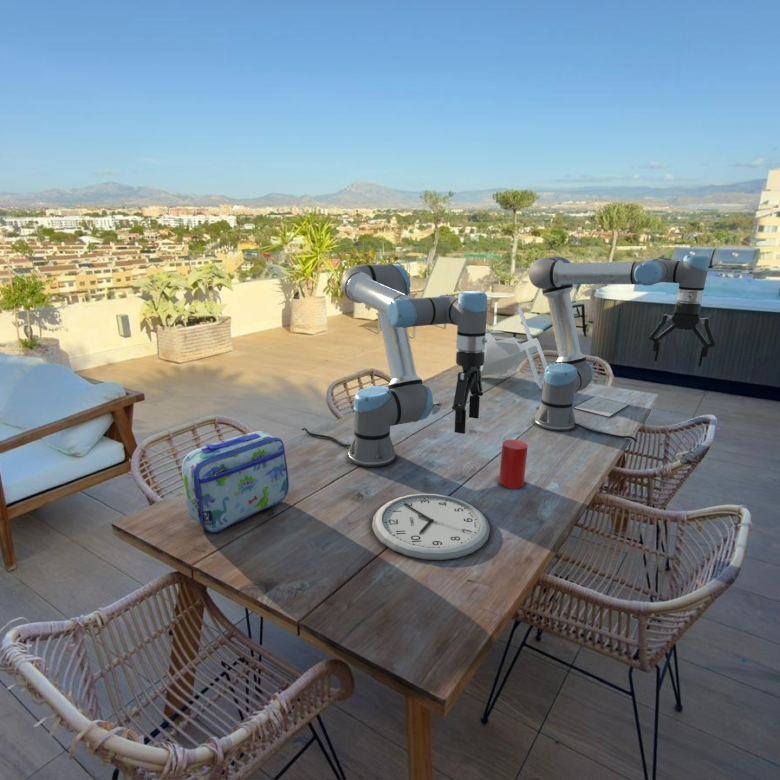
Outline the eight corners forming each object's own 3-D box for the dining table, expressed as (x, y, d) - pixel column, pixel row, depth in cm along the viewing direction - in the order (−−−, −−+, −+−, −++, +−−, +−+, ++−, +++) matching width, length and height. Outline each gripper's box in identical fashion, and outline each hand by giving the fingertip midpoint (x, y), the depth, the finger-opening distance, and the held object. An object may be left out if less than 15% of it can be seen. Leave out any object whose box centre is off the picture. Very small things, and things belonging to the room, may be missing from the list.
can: (522, 490, 153) (526, 450, 149) (497, 485, 155) (500, 446, 152) (525, 479, 159) (529, 441, 156) (501, 475, 162) (504, 438, 158)
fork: (425, 411, 216) (425, 407, 215) (435, 400, 230) (435, 396, 230) (431, 412, 215) (431, 408, 214) (441, 401, 229) (441, 396, 229)
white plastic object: (487, 418, 267) (468, 395, 242) (469, 346, 289) (449, 318, 264) (558, 394, 255) (545, 368, 230) (533, 321, 277) (518, 289, 252)
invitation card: (608, 416, 214) (573, 407, 224) (608, 416, 214) (573, 408, 224) (628, 404, 229) (594, 396, 238) (628, 405, 229) (594, 397, 238)
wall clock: (505, 551, 121) (375, 556, 118) (504, 557, 121) (375, 562, 119) (474, 489, 149) (369, 491, 147) (474, 494, 150) (369, 497, 147)
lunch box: (202, 541, 125) (194, 461, 119) (183, 523, 133) (174, 447, 126) (293, 503, 143) (290, 432, 137) (271, 490, 150) (268, 421, 144)
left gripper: (471, 360, 128) (467, 441, 134) (495, 343, 150) (491, 413, 155) (442, 358, 131) (439, 437, 137) (470, 341, 153) (466, 410, 158)
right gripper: (647, 300, 180) (637, 360, 186) (732, 306, 168) (719, 370, 175) (649, 298, 186) (639, 356, 192) (731, 303, 175) (718, 365, 181)
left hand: (467, 425), depth 146 cm, fingers open, 13 cm apart
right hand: (677, 362), depth 184 cm, fingers open, 13 cm apart
